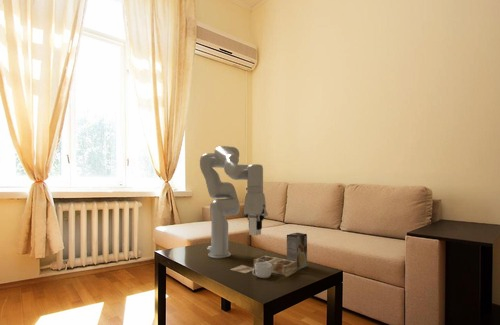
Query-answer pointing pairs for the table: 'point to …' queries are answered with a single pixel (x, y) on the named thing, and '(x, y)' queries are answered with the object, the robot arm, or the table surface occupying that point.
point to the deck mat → (243, 269)
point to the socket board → (279, 265)
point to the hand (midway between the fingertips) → (255, 228)
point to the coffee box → (297, 249)
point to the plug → (253, 225)
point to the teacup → (263, 269)
